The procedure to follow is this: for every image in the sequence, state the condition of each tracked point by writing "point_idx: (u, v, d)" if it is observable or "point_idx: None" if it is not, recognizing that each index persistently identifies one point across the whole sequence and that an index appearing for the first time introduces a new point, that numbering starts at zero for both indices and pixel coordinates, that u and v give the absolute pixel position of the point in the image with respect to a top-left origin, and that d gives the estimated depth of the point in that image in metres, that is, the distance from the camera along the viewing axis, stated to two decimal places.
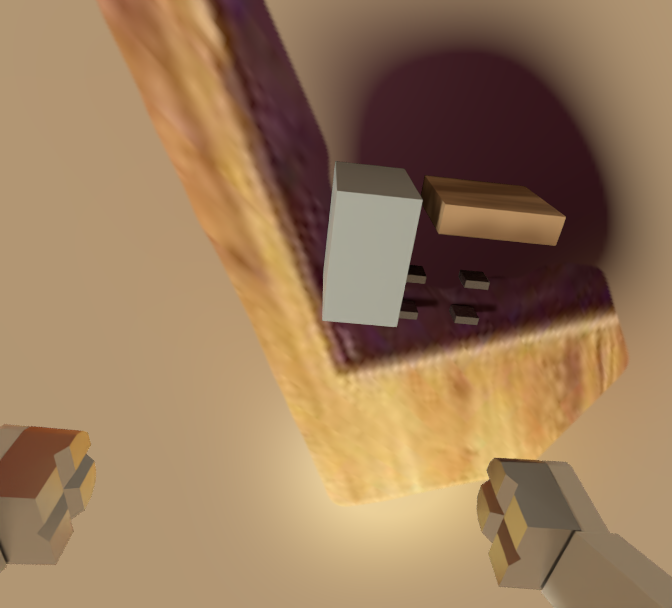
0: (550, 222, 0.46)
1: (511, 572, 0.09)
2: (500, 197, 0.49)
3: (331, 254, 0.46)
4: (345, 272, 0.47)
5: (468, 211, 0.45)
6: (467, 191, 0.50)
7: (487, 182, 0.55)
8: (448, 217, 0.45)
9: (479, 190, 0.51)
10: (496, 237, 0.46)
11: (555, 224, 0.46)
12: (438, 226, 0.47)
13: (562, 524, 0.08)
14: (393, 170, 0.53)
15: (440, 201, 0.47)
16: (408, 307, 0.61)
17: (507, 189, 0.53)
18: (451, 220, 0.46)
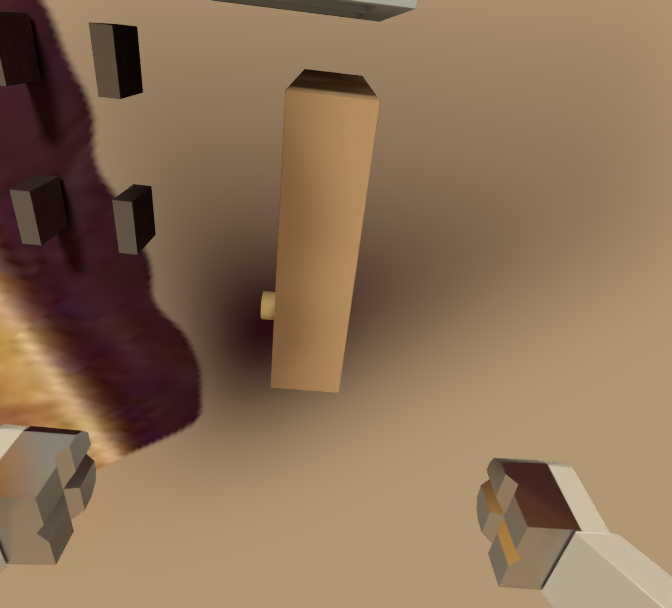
0: (326, 367, 0.20)
1: (510, 572, 0.09)
2: None
3: None
4: None
5: (356, 174, 0.16)
6: None
7: None
8: (339, 115, 0.15)
9: None
10: (283, 259, 0.18)
11: (321, 377, 0.20)
12: (303, 90, 0.15)
13: (562, 524, 0.08)
14: None
15: (366, 93, 0.17)
16: (16, 59, 0.22)
17: None
18: (329, 127, 0.15)
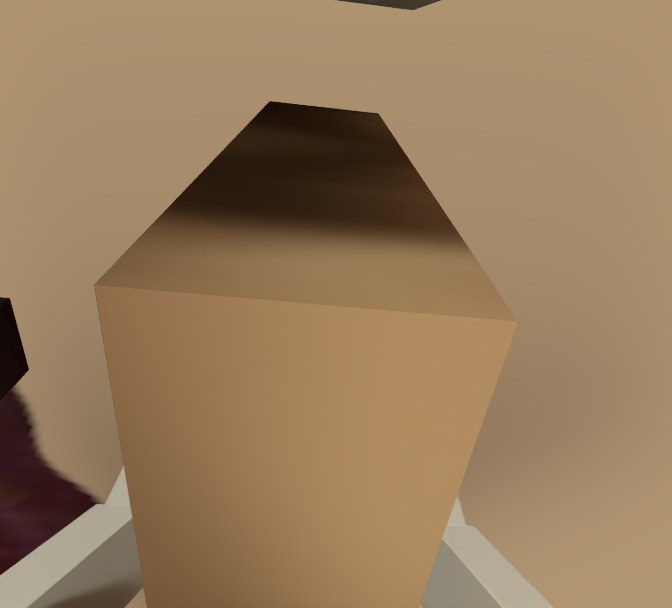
0: None
1: None
2: None
3: None
4: None
5: (399, 526, 0.05)
6: None
7: None
8: (338, 369, 0.04)
9: None
10: None
11: None
12: (194, 254, 0.04)
13: None
14: None
15: (424, 224, 0.05)
16: None
17: None
18: (298, 404, 0.04)
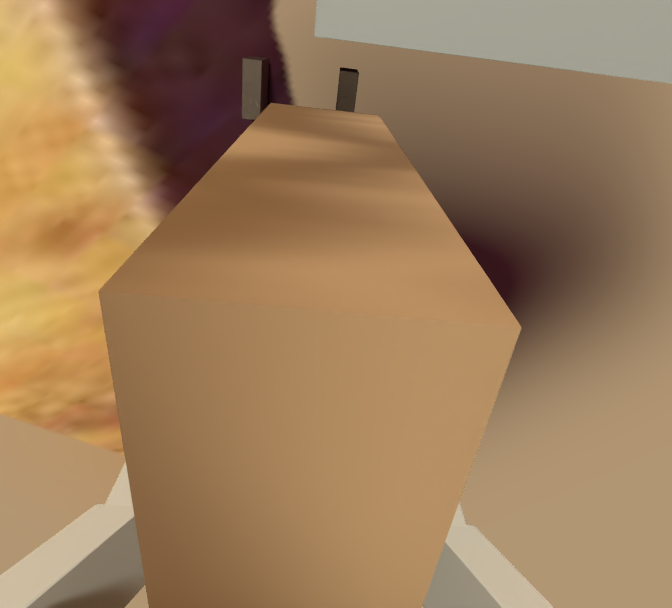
0: None
1: None
2: None
3: None
4: None
5: (402, 530, 0.05)
6: None
7: None
8: (343, 374, 0.04)
9: None
10: None
11: None
12: (197, 259, 0.04)
13: None
14: None
15: (426, 228, 0.05)
16: (263, 97, 0.27)
17: None
18: (302, 410, 0.04)
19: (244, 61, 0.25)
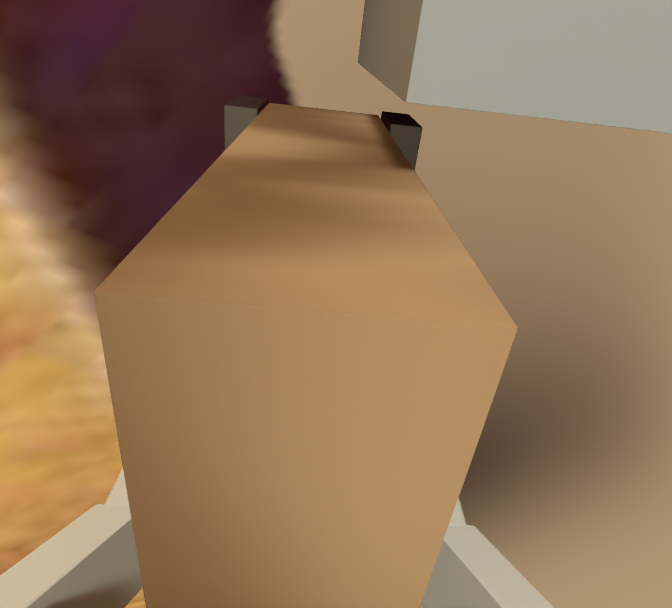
0: None
1: None
2: None
3: None
4: None
5: (399, 531, 0.05)
6: None
7: None
8: (338, 374, 0.04)
9: None
10: None
11: None
12: (194, 259, 0.04)
13: None
14: None
15: (424, 228, 0.05)
16: None
17: None
18: (298, 410, 0.04)
19: (227, 110, 0.14)
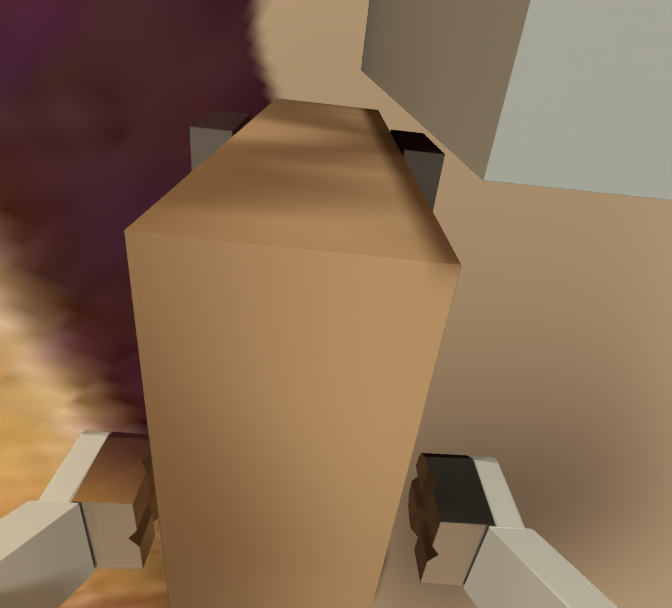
0: None
1: (430, 568, 0.08)
2: None
3: None
4: None
5: (372, 449, 0.05)
6: None
7: None
8: (318, 304, 0.04)
9: None
10: (184, 603, 0.07)
11: None
12: (203, 213, 0.05)
13: (477, 519, 0.08)
14: None
15: (400, 198, 0.06)
16: None
17: None
18: (286, 336, 0.05)
19: (193, 133, 0.11)
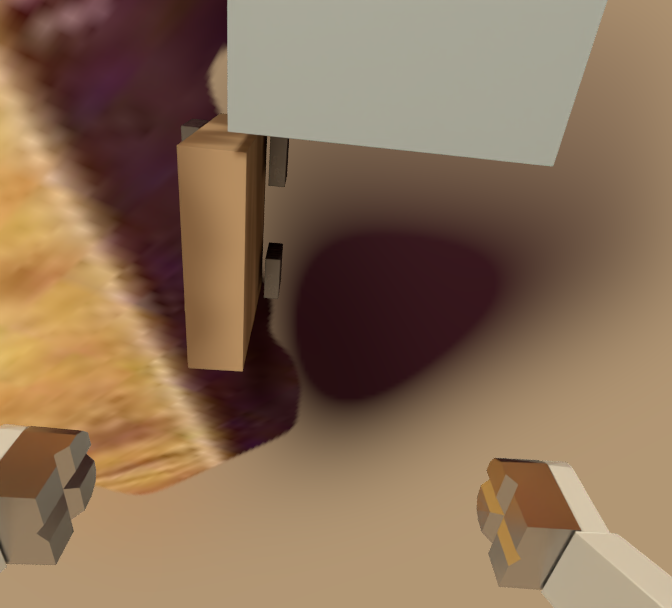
0: (230, 351, 0.26)
1: (510, 572, 0.09)
2: (254, 256, 0.28)
3: None
4: None
5: (235, 204, 0.22)
6: (257, 197, 0.27)
7: (263, 228, 0.34)
8: (217, 162, 0.21)
9: (258, 218, 0.29)
10: (187, 267, 0.23)
11: (227, 359, 0.26)
12: (192, 144, 0.21)
13: (562, 524, 0.08)
14: None
15: (244, 143, 0.22)
16: None
17: (259, 262, 0.32)
18: (211, 170, 0.21)
19: (182, 128, 0.27)
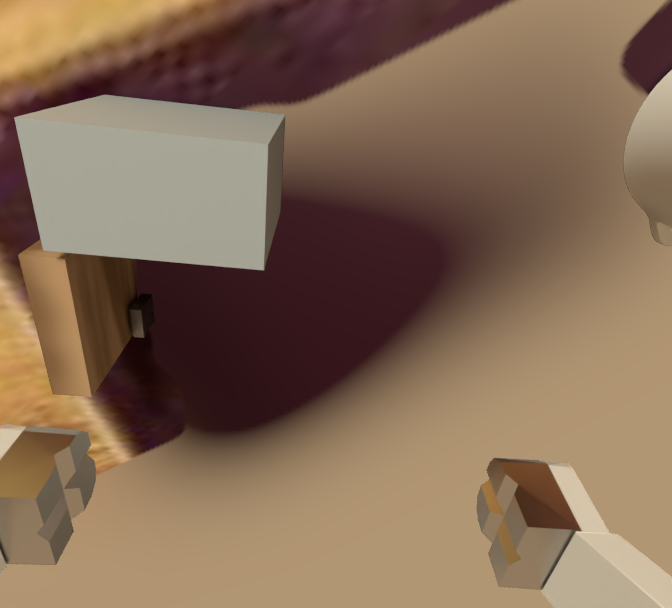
0: (79, 383, 0.36)
1: (510, 572, 0.09)
2: (107, 312, 0.39)
3: (155, 135, 0.26)
4: (126, 160, 0.27)
5: (63, 289, 0.32)
6: (107, 271, 0.38)
7: (135, 283, 0.44)
8: (47, 264, 0.31)
9: (114, 283, 0.40)
10: (39, 328, 0.34)
11: (78, 388, 0.37)
12: (31, 251, 0.32)
13: (562, 524, 0.08)
14: (279, 200, 0.39)
15: None
16: None
17: (127, 310, 0.43)
18: (44, 269, 0.32)
19: None
